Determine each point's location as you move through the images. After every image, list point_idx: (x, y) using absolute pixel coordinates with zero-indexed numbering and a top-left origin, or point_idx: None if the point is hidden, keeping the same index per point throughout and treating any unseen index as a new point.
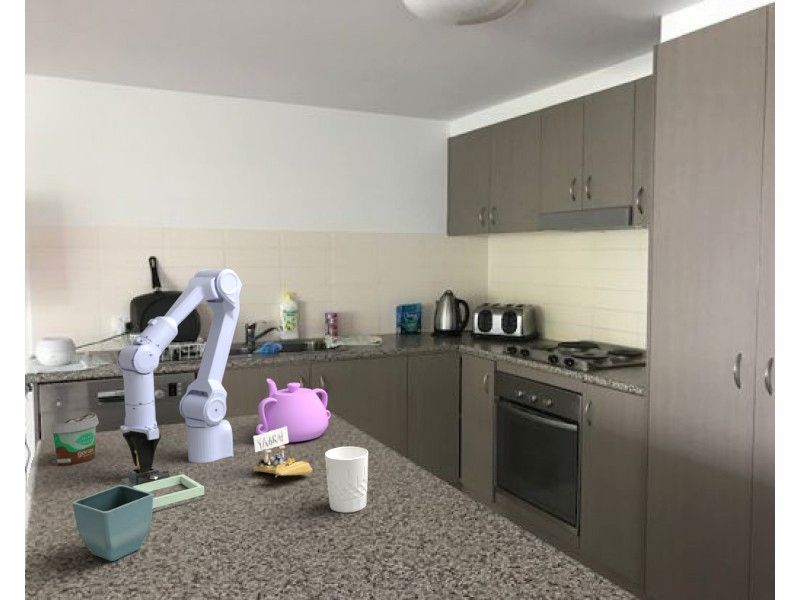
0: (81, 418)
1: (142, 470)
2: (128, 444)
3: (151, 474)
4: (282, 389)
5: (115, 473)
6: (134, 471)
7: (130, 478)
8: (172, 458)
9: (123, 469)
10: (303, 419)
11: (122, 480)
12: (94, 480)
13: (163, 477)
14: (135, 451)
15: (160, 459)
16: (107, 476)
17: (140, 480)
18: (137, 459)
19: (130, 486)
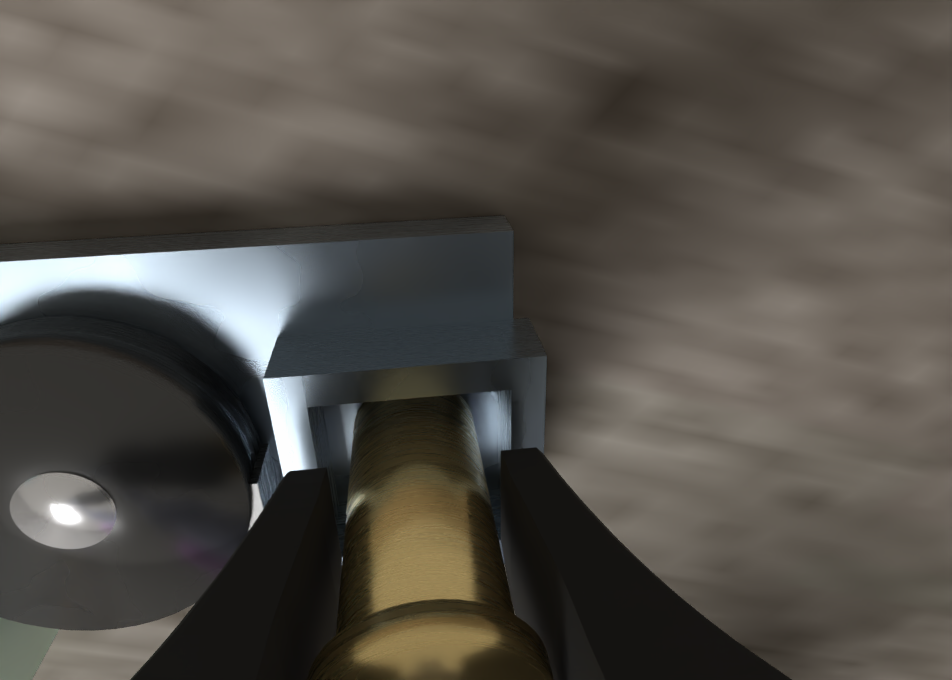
0: None
1: (350, 470)
2: (704, 654)
3: (206, 509)
4: None
5: (876, 257)
6: (506, 398)
7: (463, 320)
8: (808, 655)
9: (913, 342)
10: None
11: (456, 236)
12: (869, 6)
13: (12, 577)
14: (403, 633)
15: (866, 599)
16: (864, 168)
17: (19, 376)
18: (400, 535)
19: (161, 253)
